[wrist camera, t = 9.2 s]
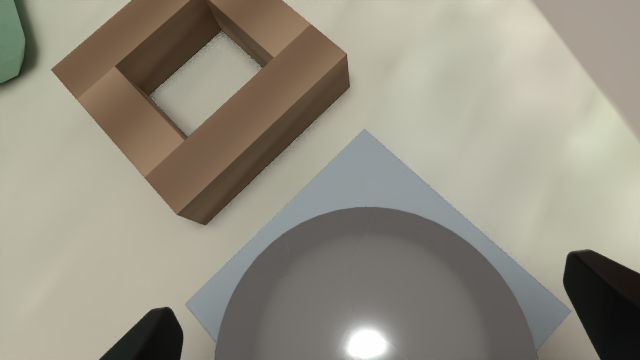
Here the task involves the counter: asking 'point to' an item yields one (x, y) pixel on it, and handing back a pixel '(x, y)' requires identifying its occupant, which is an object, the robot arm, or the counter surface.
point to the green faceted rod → (10, 41)
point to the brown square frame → (230, 119)
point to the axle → (373, 295)
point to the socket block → (387, 192)
